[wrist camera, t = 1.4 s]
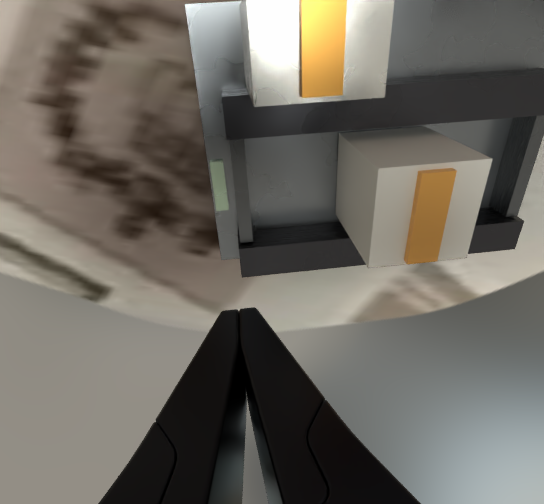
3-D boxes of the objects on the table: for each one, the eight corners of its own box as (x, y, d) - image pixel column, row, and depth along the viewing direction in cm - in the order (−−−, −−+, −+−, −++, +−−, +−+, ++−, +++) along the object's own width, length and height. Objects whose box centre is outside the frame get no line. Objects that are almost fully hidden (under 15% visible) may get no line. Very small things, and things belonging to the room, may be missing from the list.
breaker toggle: (424, 126, 17) (498, 161, 12) (411, 206, 19) (470, 261, 14) (339, 133, 17) (381, 171, 12) (335, 214, 19) (371, 272, 14)
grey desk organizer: (566, -15, 16) (751, -40, 10) (496, 221, 22) (590, 287, 16) (187, 5, 15) (165, -10, 9) (221, 248, 20) (220, 329, 15)
